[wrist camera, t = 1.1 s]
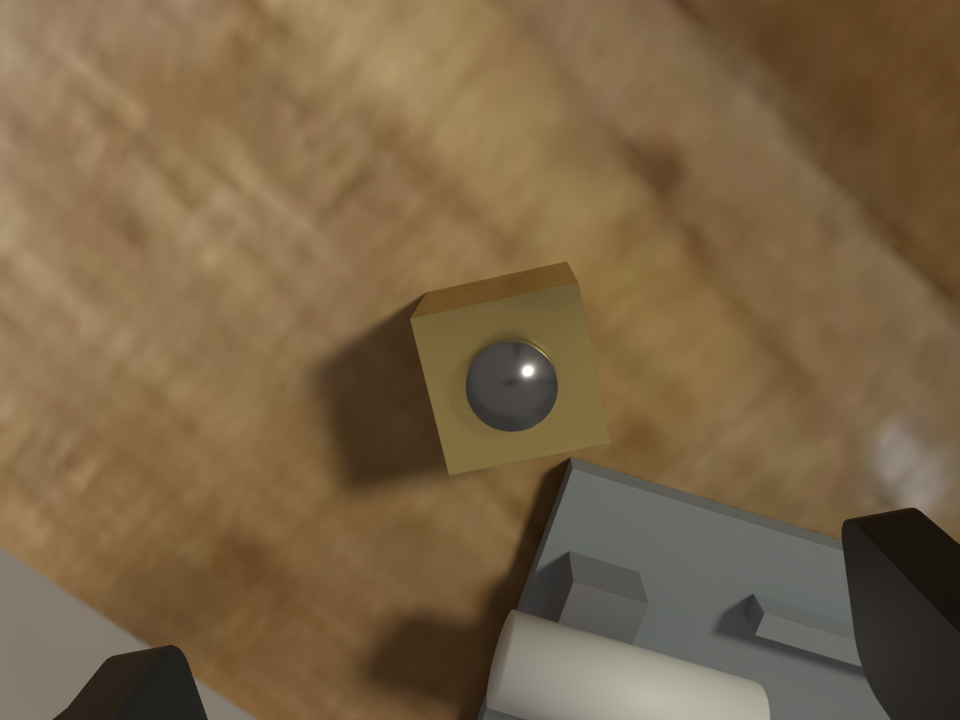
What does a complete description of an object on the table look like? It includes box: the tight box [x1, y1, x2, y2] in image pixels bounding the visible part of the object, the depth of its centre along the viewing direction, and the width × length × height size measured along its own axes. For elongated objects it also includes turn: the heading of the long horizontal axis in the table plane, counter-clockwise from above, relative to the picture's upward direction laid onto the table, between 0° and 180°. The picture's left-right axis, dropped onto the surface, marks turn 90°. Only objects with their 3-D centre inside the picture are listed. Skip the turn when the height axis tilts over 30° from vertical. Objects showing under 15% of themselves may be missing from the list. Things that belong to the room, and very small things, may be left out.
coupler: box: [410, 261, 610, 476], centre depth 24 cm, size 4×4×5 cm
